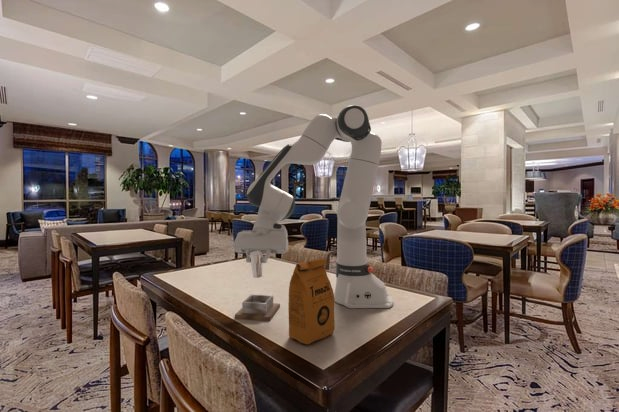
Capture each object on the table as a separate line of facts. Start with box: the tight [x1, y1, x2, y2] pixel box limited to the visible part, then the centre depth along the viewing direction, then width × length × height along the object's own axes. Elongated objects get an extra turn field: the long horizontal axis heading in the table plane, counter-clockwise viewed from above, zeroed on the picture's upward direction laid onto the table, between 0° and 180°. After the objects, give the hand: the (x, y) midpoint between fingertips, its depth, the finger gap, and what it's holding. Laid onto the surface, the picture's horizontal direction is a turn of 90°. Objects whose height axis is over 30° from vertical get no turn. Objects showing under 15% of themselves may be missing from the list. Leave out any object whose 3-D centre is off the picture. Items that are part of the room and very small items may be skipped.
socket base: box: [234, 293, 281, 322], centre depth 104 cm, size 12×12×5 cm
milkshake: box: [248, 249, 264, 279], centre depth 107 cm, size 4×5×10 cm
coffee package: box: [288, 257, 336, 345], centre depth 86 cm, size 10×12×22 cm
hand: (256, 262), depth 106 cm, fingers closed on milkshake, 4 cm apart
